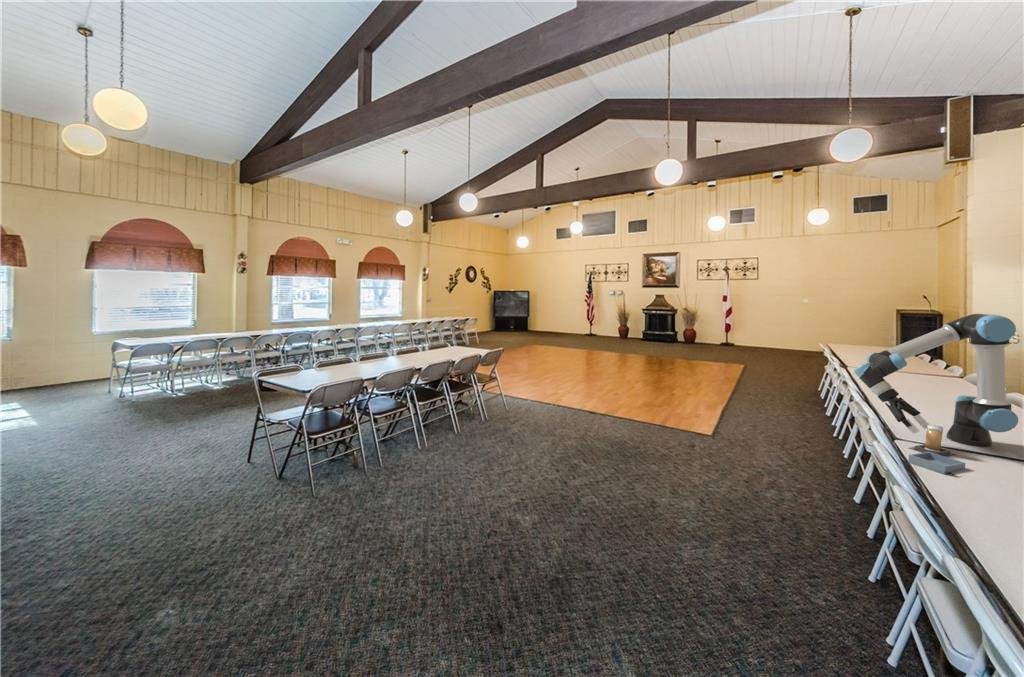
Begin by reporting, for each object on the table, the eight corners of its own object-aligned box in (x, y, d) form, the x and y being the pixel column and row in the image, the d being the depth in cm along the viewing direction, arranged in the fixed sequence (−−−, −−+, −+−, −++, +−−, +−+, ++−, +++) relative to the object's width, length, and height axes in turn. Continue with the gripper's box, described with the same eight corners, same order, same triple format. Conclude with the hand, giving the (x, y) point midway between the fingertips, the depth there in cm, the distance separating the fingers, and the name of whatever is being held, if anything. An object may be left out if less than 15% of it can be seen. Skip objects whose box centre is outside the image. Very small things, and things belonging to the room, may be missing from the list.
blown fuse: (928, 448, 190) (932, 424, 188) (942, 453, 185) (945, 427, 183) (921, 450, 188) (924, 425, 187) (935, 454, 184) (938, 428, 182)
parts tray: (927, 459, 180) (928, 451, 180) (964, 471, 169) (965, 463, 168) (908, 462, 177) (909, 454, 177) (944, 474, 165) (945, 466, 165)
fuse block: (924, 447, 194) (925, 442, 194) (957, 457, 183) (958, 451, 182) (907, 450, 191) (907, 445, 191) (939, 460, 179) (940, 454, 179)
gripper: (887, 392, 208) (923, 429, 197) (866, 399, 196) (903, 438, 185) (902, 384, 203) (940, 422, 192) (881, 390, 191) (920, 430, 180)
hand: (922, 430), depth 188 cm, fingers open, 13 cm apart
